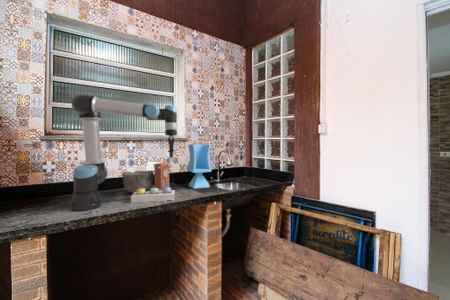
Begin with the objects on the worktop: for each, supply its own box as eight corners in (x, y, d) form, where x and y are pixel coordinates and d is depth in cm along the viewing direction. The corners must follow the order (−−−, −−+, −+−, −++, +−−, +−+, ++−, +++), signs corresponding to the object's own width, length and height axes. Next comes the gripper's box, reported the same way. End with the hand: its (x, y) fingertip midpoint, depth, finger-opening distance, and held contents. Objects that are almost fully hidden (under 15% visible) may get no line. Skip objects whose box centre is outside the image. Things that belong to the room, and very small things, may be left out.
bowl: (157, 189, 176) (157, 170, 175) (148, 195, 154) (148, 174, 154) (129, 189, 175) (128, 170, 175) (116, 196, 153) (116, 174, 153)
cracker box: (170, 190, 173) (161, 194, 158) (162, 189, 175) (152, 194, 160) (170, 162, 172) (161, 164, 158) (162, 162, 174) (152, 164, 159)
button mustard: (136, 195, 140) (136, 190, 140) (137, 193, 145) (137, 188, 145) (144, 195, 141) (144, 189, 141) (145, 193, 146) (145, 188, 146)
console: (131, 202, 136) (130, 196, 136) (134, 198, 148) (134, 192, 148) (174, 200, 142) (174, 194, 142) (174, 195, 154) (174, 190, 154)
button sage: (149, 194, 142) (149, 189, 142) (150, 193, 147) (150, 187, 147) (157, 194, 143) (157, 189, 143) (158, 192, 148) (158, 187, 148)
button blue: (162, 194, 144) (162, 188, 144) (163, 192, 149) (163, 187, 149) (170, 193, 145) (170, 188, 145) (170, 192, 150) (170, 186, 150)
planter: (193, 189, 176) (193, 144, 175) (187, 185, 190) (186, 144, 189) (211, 187, 183) (211, 144, 182) (204, 184, 197) (204, 144, 196)
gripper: (177, 128, 137) (177, 163, 138) (176, 130, 161) (176, 159, 162) (164, 128, 135) (165, 163, 136) (165, 130, 159) (165, 160, 160)
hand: (171, 161), depth 149 cm, fingers open, 13 cm apart
